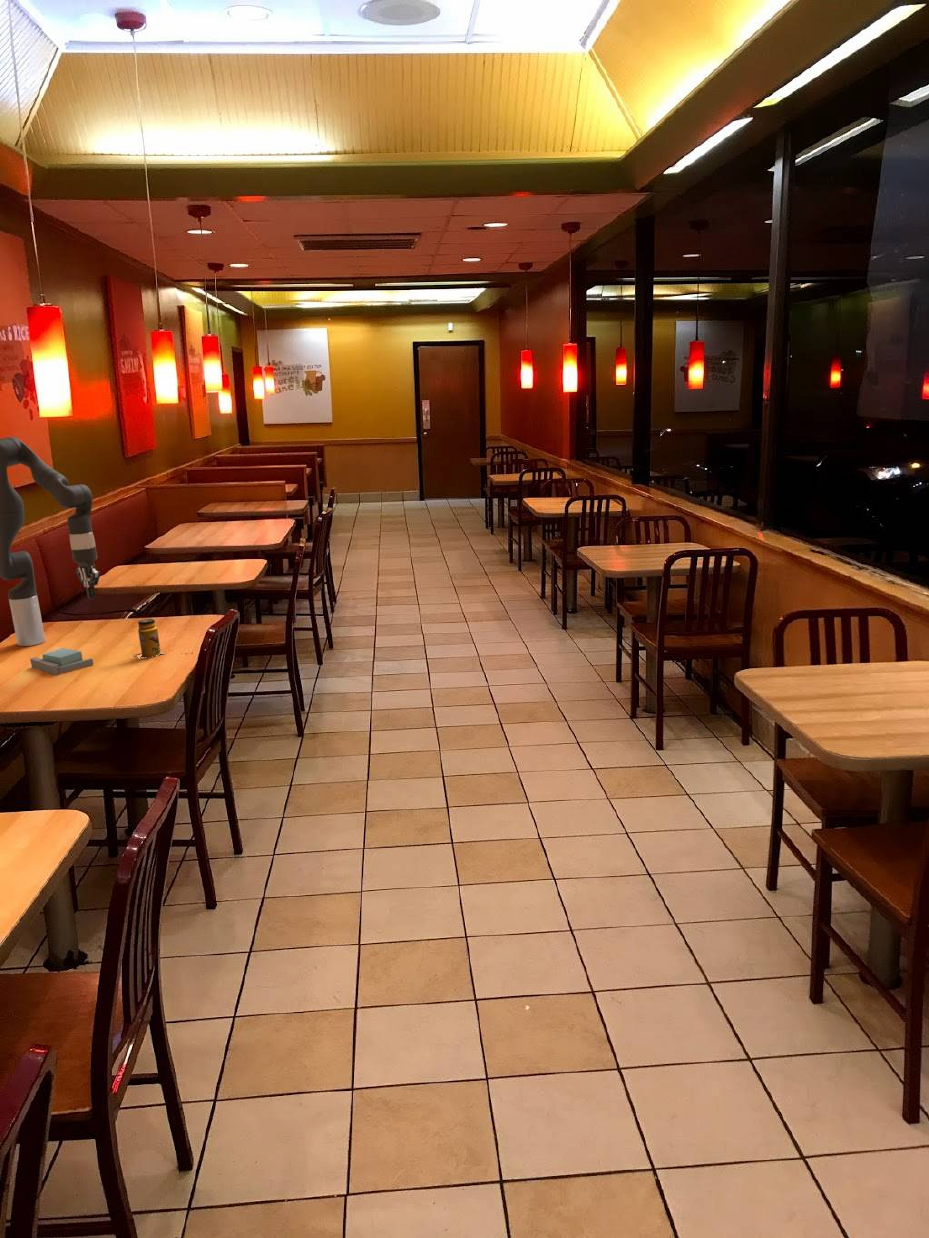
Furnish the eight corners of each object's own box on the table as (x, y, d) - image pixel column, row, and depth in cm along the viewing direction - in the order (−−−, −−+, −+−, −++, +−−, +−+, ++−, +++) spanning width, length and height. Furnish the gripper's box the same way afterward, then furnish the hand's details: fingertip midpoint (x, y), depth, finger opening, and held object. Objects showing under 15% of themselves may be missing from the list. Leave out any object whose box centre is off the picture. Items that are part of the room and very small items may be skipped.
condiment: (164, 654, 308) (159, 620, 305) (138, 660, 304) (133, 625, 301) (158, 650, 314) (153, 616, 311) (133, 655, 310) (127, 621, 307)
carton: (45, 668, 302) (42, 654, 301) (65, 662, 308) (63, 647, 306) (63, 672, 296) (60, 657, 295) (83, 665, 302) (81, 651, 301)
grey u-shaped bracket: (31, 667, 304) (30, 658, 303) (70, 657, 313) (68, 648, 312) (54, 675, 293) (52, 666, 292) (93, 664, 302) (92, 655, 301)
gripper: (62, 546, 305) (71, 597, 309) (82, 550, 296) (90, 602, 300) (84, 542, 310) (92, 593, 314) (104, 546, 301) (112, 597, 306)
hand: (91, 597), depth 307 cm, fingers closed
